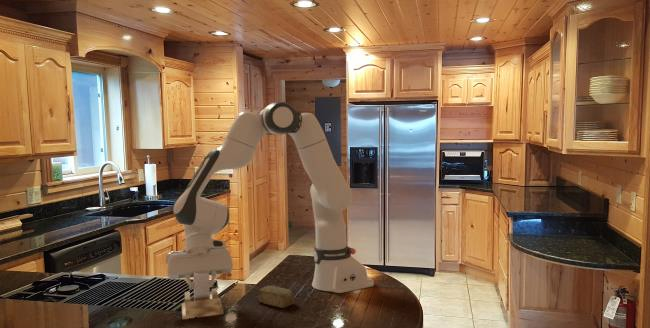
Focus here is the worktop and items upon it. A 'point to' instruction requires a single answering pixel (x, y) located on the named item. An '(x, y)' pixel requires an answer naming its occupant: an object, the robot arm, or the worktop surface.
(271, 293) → the stone block
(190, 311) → the cradle
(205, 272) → the block
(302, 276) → the worktop surface
